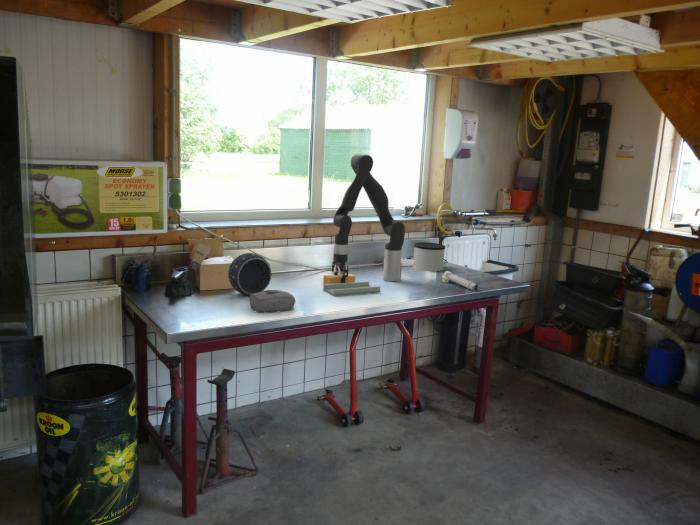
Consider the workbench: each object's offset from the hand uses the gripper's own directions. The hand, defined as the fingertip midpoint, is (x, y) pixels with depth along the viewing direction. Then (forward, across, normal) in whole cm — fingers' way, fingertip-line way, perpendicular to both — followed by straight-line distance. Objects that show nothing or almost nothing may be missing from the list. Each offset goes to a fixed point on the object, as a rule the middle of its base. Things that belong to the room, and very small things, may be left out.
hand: (339, 282), depth 312 cm
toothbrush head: (+2, -19, -64) cm, 67 cm away
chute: (+1, 0, 0) cm, 1 cm away
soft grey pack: (+2, -31, +48) cm, 58 cm away
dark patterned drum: (+1, -6, +51) cm, 51 cm away
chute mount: (+1, -14, 0) cm, 14 cm away
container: (+1, +23, -73) cm, 77 cm away
